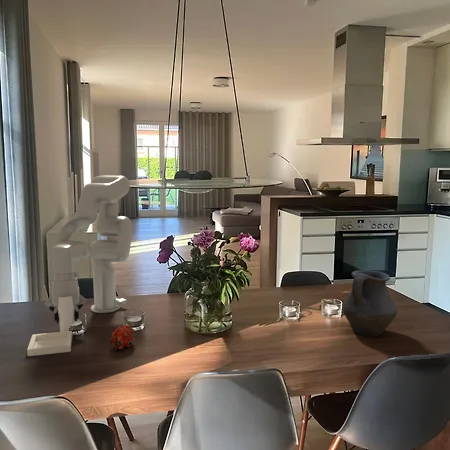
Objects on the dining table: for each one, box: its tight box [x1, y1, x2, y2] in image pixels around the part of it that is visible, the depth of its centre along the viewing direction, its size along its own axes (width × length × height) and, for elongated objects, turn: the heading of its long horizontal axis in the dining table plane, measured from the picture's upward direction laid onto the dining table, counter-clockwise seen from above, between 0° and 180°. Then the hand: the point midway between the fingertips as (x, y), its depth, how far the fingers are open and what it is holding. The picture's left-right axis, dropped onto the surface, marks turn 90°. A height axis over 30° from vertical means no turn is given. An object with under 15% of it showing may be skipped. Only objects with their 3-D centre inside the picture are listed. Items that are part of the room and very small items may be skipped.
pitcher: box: [342, 269, 399, 338], centre depth 177 cm, size 21×22×25 cm
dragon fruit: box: [109, 324, 137, 351], centre depth 164 cm, size 8×8×12 cm
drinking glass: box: [57, 296, 76, 332], centre depth 178 cm, size 7×7×15 cm
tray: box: [27, 331, 73, 357], centre depth 165 cm, size 14×14×2 cm
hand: (66, 320), depth 178 cm, fingers closed on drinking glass, 6 cm apart
